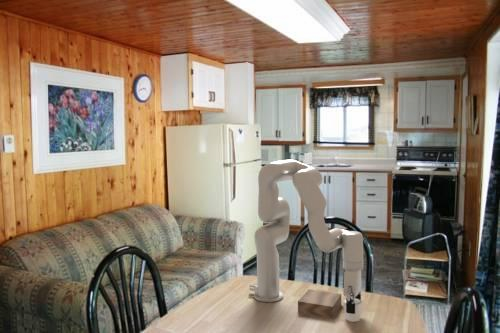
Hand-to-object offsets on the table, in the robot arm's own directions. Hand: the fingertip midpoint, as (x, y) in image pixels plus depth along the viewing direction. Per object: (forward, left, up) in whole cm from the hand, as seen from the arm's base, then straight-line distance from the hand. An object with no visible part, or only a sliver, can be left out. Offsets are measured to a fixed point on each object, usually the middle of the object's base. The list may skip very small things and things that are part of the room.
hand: (353, 308), depth 171 cm
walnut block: (-15, +4, -5) cm, 16 cm away
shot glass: (-1, 0, -4) cm, 4 cm away
